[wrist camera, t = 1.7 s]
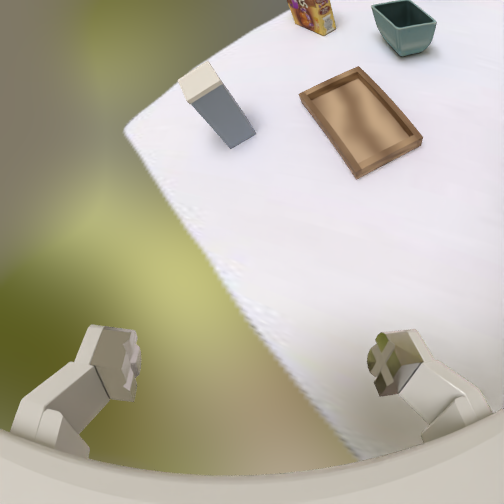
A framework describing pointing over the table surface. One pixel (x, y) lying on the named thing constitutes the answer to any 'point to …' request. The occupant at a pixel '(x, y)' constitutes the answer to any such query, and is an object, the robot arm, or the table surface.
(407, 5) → the flower pot
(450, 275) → the table surface
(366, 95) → the wooden tray
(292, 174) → the table surface
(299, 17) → the candy box
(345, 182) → the table surface
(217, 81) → the tin
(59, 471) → the robot arm
